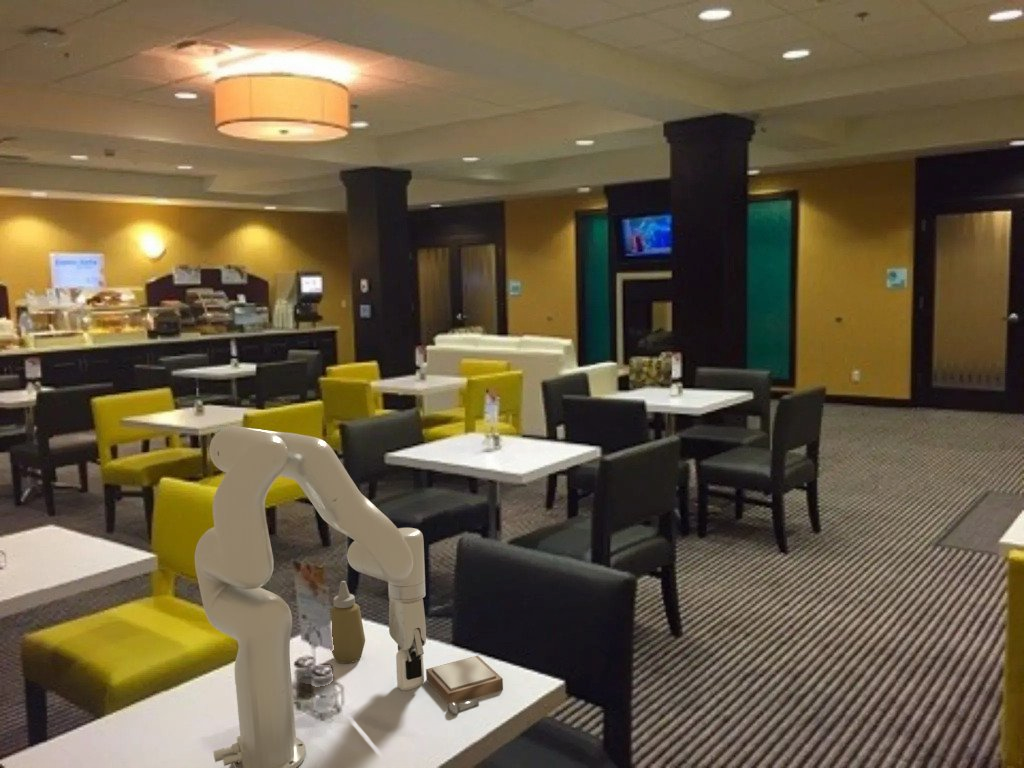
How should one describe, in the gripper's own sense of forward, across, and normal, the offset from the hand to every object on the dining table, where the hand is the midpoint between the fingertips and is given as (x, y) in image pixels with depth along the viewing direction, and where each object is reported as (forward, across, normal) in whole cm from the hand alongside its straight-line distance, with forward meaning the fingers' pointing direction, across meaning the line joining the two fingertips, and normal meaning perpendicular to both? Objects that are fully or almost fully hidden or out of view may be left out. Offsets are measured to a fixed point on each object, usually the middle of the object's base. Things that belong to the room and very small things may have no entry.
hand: (410, 672), depth 179 cm
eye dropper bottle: (+3, 0, 0) cm, 3 cm away
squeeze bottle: (+3, -20, -7) cm, 22 cm away
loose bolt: (+3, +14, +6) cm, 15 cm away
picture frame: (+3, +6, +10) cm, 12 cm away
